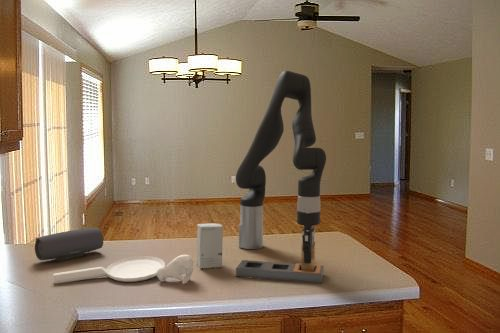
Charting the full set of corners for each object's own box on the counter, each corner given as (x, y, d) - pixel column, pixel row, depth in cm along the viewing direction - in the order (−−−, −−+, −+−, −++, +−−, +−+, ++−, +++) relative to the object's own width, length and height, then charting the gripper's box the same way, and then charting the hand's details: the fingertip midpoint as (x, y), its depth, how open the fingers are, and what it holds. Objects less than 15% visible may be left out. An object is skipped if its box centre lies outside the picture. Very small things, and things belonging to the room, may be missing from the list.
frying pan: (54, 300, 141) (52, 285, 140) (55, 276, 158) (54, 263, 157) (170, 280, 153) (169, 267, 152) (160, 260, 170) (159, 248, 169)
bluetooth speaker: (93, 249, 188) (92, 224, 187) (104, 253, 182) (103, 228, 181) (34, 260, 172) (33, 234, 171) (44, 266, 166) (43, 238, 165)
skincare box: (199, 269, 163) (199, 227, 162) (196, 264, 169) (196, 223, 167) (223, 267, 166) (223, 225, 164) (219, 262, 171) (219, 222, 170)
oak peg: (301, 274, 153) (301, 244, 152) (302, 270, 157) (302, 241, 156) (313, 275, 152) (314, 245, 151) (314, 271, 156) (315, 241, 155)
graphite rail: (236, 276, 155) (236, 267, 155) (242, 268, 164) (242, 259, 164) (321, 283, 149) (321, 273, 149) (323, 274, 158) (323, 264, 158)
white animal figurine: (191, 257, 147) (152, 261, 147) (194, 283, 148) (156, 287, 148) (193, 251, 153) (156, 255, 153) (195, 277, 154) (159, 280, 154)
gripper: (299, 205, 160) (299, 254, 162) (294, 213, 146) (293, 266, 148) (321, 205, 159) (321, 255, 160) (318, 214, 145) (318, 268, 147)
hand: (308, 260), depth 154 cm, fingers closed on oak peg, 4 cm apart
